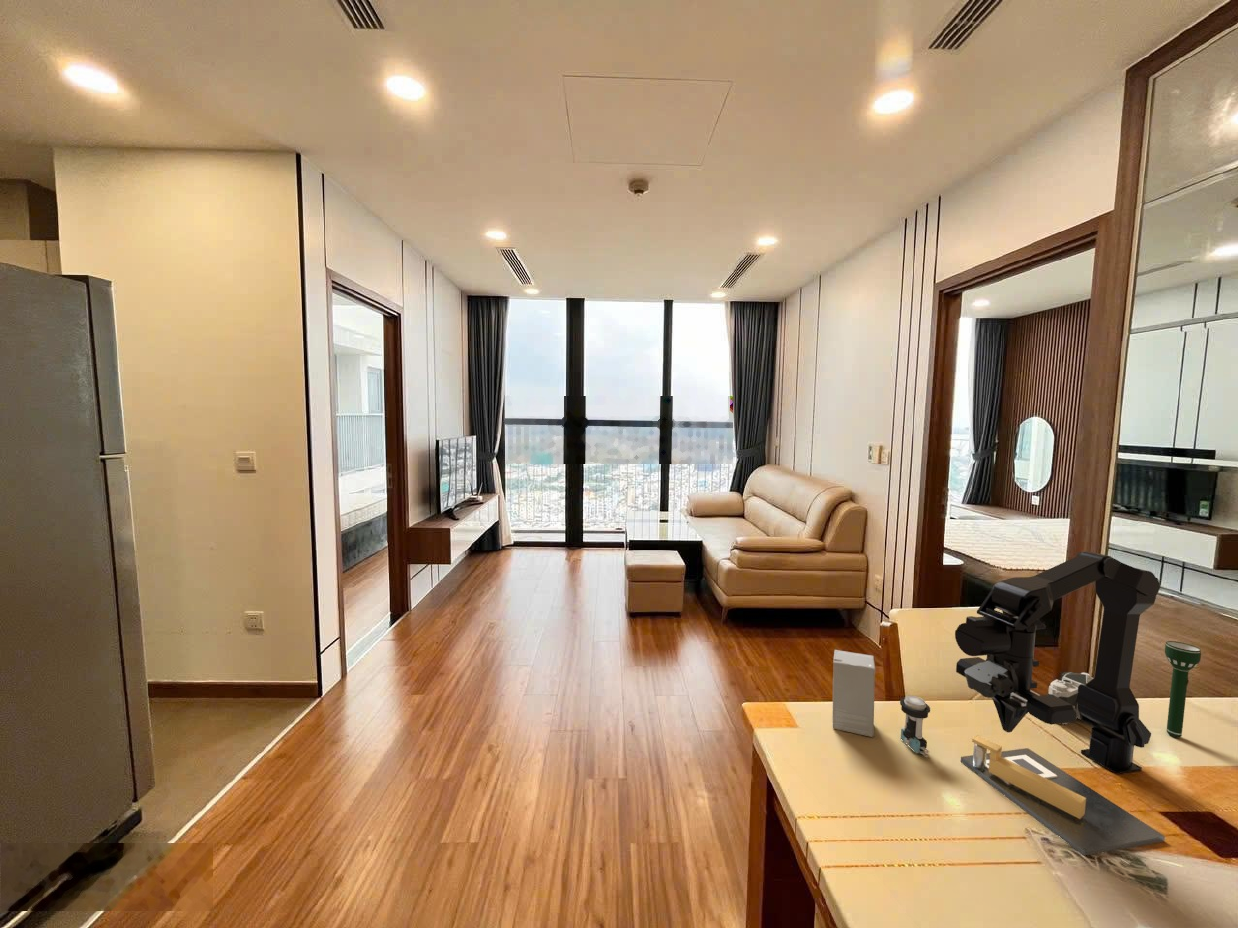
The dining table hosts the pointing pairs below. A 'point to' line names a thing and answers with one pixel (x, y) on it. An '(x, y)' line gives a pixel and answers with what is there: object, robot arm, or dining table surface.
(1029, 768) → the label tile
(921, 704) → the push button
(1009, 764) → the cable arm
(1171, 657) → the flashlight
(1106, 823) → the chassis plate
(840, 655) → the skincare box
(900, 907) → the dining table surface
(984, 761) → the pivot post
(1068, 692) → the camera
